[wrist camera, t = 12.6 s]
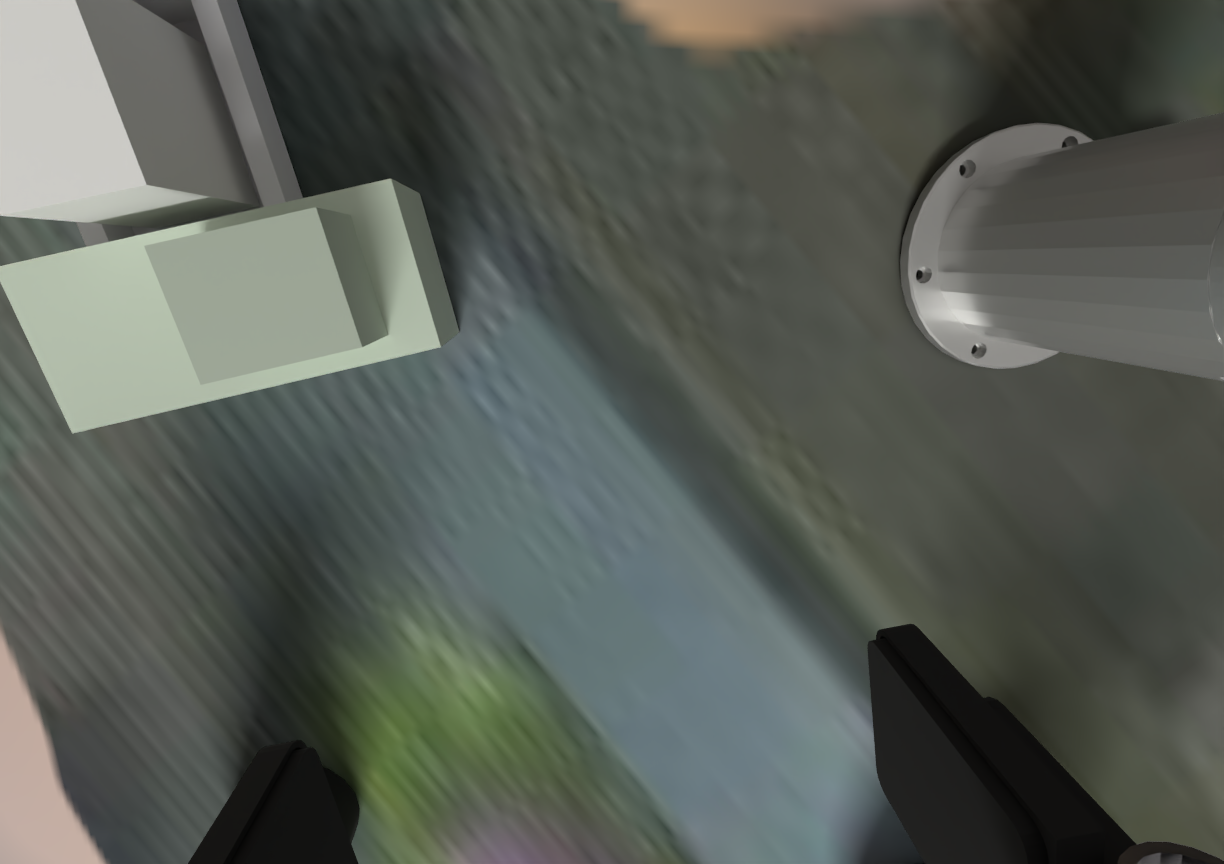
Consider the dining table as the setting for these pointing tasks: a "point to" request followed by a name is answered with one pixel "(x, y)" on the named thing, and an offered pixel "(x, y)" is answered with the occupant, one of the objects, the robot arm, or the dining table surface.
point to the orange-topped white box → (112, 118)
